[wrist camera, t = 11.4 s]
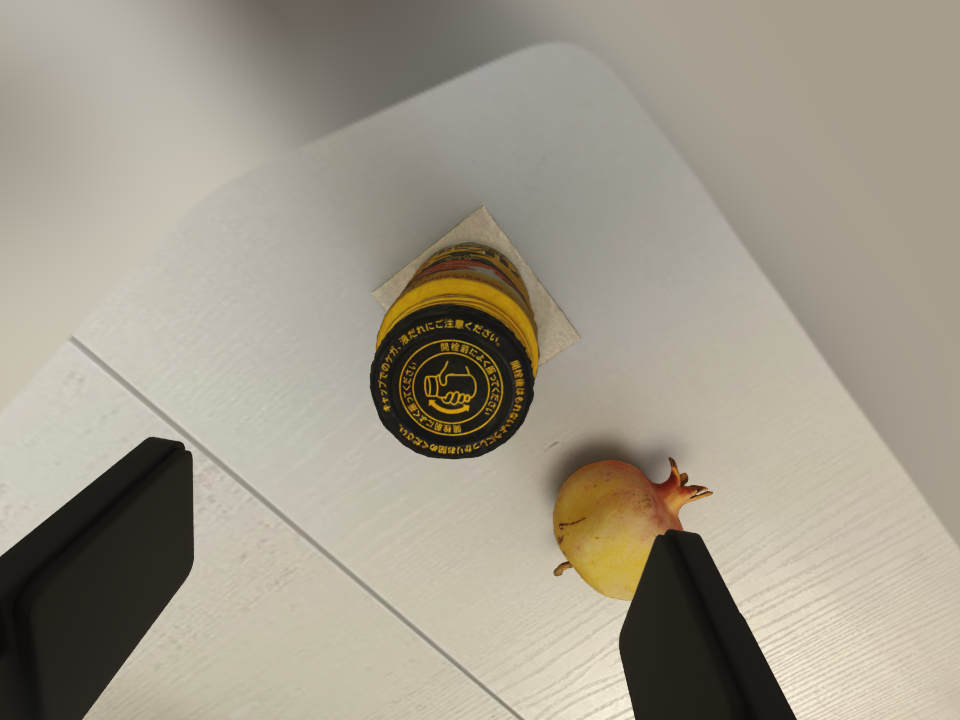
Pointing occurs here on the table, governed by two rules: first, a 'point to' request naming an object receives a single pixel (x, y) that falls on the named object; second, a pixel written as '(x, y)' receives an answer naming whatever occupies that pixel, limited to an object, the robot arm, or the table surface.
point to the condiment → (463, 343)
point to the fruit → (616, 522)
